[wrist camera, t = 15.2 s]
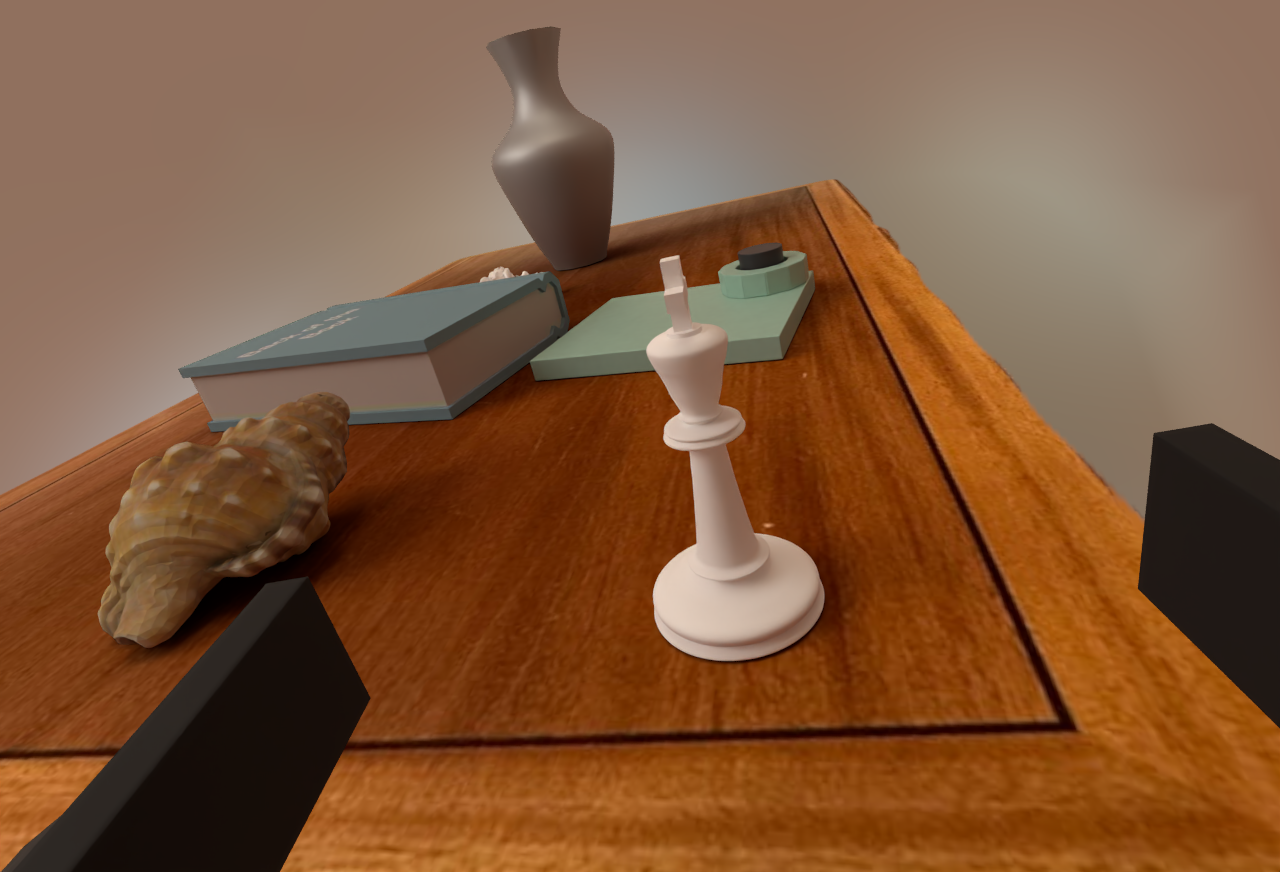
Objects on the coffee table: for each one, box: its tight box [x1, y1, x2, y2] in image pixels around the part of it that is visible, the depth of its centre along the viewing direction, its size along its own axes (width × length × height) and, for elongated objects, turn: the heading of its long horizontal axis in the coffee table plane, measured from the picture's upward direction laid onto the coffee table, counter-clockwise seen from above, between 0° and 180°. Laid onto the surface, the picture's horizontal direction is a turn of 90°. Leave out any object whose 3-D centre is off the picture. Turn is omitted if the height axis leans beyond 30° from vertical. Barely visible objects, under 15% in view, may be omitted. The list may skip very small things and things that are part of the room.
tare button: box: [738, 243, 784, 270], centre depth 46 cm, size 3×3×1 cm
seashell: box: [98, 392, 350, 648], centre depth 28 cm, size 9×8×10 cm
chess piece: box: [646, 255, 824, 661], centre depth 18 cm, size 5×5×10 cm
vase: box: [486, 27, 614, 271], centre depth 78 cm, size 14×14×25 cm
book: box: [178, 271, 569, 432], centre depth 50 cm, size 23×16×5 cm
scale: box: [530, 251, 815, 381], centre depth 45 cm, size 16×14×3 cm
